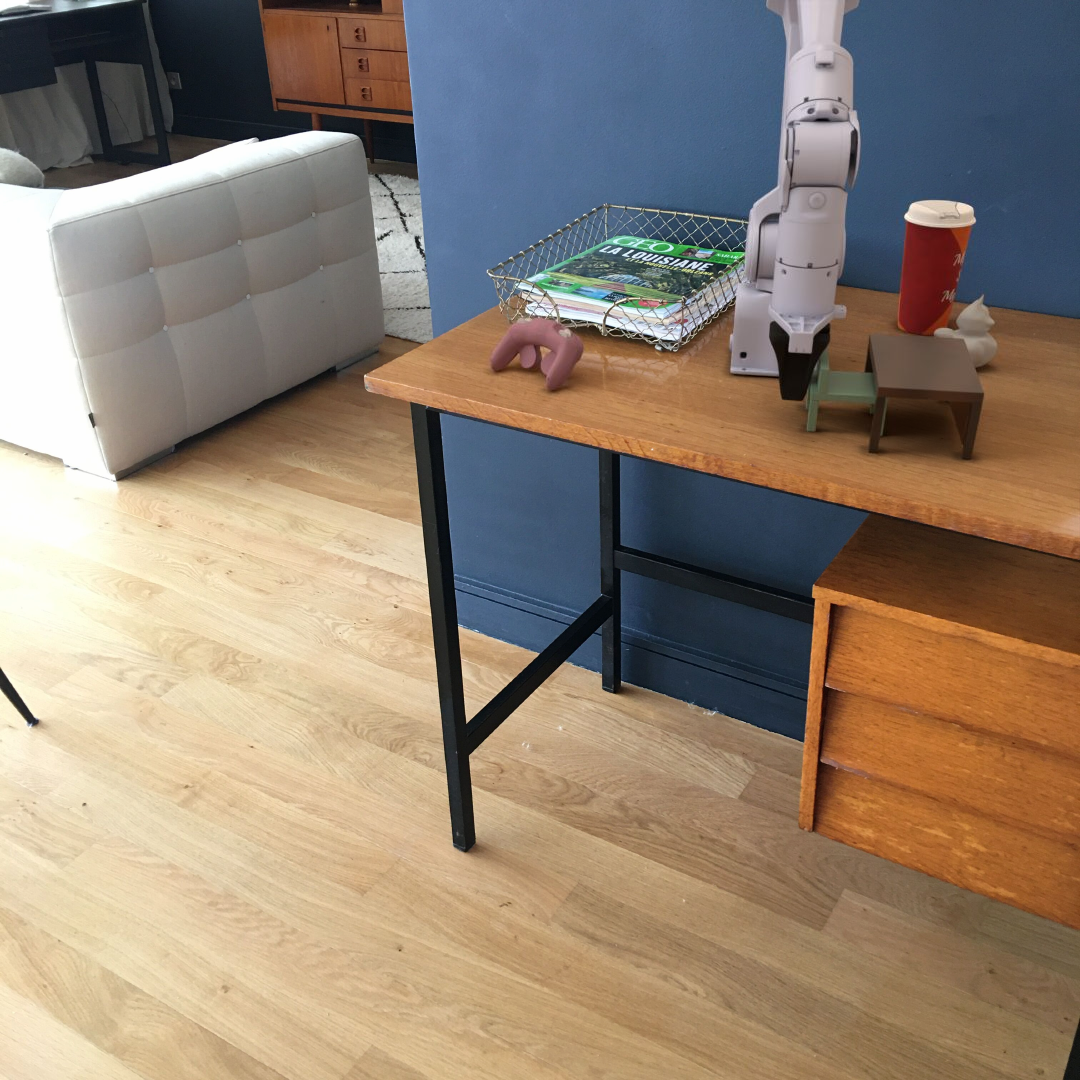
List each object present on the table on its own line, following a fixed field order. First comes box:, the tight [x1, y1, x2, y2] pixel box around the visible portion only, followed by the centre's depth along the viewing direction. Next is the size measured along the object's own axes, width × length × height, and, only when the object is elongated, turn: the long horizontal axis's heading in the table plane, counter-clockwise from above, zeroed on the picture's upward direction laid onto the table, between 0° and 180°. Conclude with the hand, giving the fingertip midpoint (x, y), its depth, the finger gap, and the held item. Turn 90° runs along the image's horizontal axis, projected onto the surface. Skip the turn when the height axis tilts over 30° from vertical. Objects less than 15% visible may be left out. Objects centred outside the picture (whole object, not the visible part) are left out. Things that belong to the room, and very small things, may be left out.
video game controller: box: [489, 317, 584, 391], centre depth 118 cm, size 10×5×7 cm, turn 47°
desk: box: [863, 333, 985, 460], centre depth 104 cm, size 9×14×6 cm, turn 169°
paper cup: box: [897, 199, 977, 336], centre depth 126 cm, size 8×8×14 cm
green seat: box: [805, 346, 889, 437], centre depth 105 cm, size 7×6×6 cm
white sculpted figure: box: [933, 293, 998, 369], centre depth 117 cm, size 5×7×8 cm
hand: (792, 398), depth 107 cm, fingers closed, pressing on green seat
